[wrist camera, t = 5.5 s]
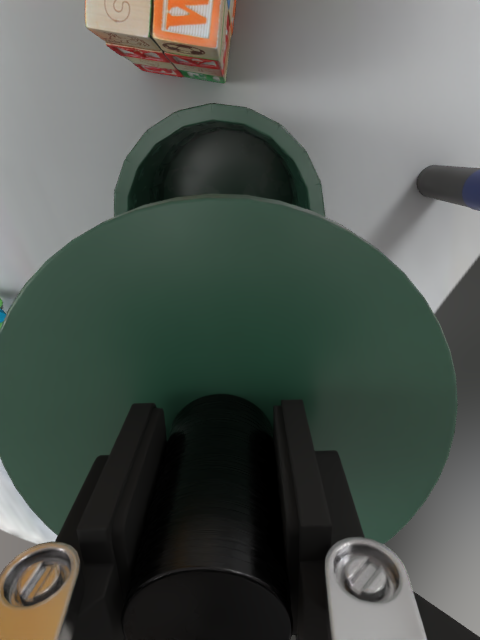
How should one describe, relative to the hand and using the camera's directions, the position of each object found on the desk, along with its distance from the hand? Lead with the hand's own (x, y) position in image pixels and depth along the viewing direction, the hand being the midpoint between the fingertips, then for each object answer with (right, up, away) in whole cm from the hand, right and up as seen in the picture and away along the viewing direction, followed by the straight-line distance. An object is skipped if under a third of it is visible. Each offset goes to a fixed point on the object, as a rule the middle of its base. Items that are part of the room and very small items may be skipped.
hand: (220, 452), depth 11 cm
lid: (0, +1, +1) cm, 2 cm away
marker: (+16, +14, +22) cm, 31 cm away
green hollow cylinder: (-1, +13, +23) cm, 27 cm away
